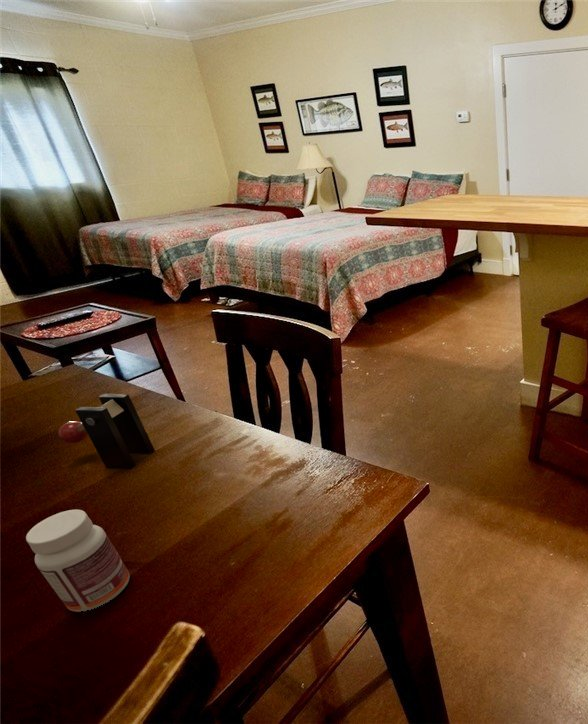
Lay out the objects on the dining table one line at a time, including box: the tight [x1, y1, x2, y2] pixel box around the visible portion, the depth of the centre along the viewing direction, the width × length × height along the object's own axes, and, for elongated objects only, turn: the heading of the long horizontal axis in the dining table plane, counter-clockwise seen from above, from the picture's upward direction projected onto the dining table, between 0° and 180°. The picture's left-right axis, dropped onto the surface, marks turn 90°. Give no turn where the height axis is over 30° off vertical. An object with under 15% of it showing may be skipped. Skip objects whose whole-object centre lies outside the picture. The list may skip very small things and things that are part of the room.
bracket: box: [74, 393, 156, 470], centre depth 78 cm, size 9×7×13 cm
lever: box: [57, 399, 124, 444], centre depth 77 cm, size 12×4×4 cm, turn 84°
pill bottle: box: [25, 509, 131, 613], centre depth 56 cm, size 6×6×11 cm
